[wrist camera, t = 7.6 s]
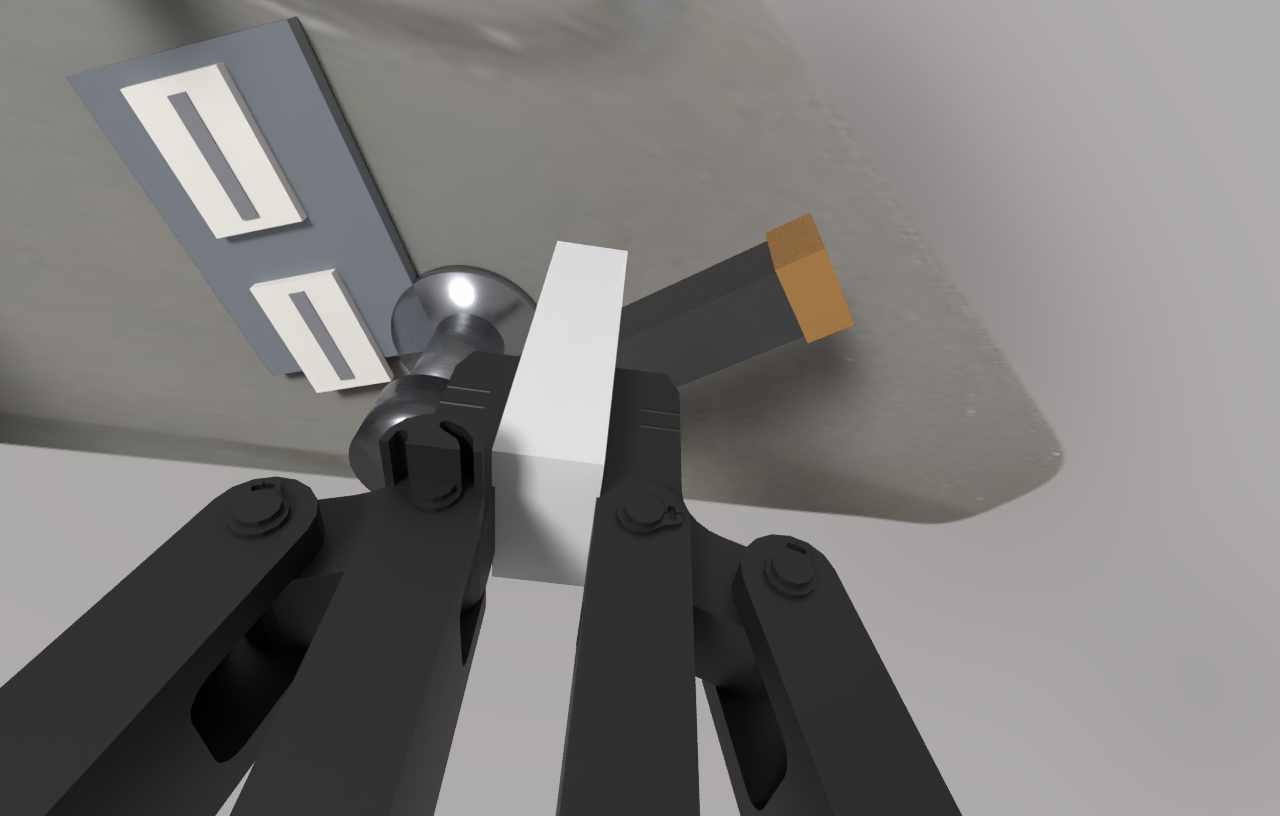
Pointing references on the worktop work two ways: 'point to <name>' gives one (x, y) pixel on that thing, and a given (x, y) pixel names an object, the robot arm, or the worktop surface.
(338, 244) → the label board
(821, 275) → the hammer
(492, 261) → the worktop surface
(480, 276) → the round pedestal stand
